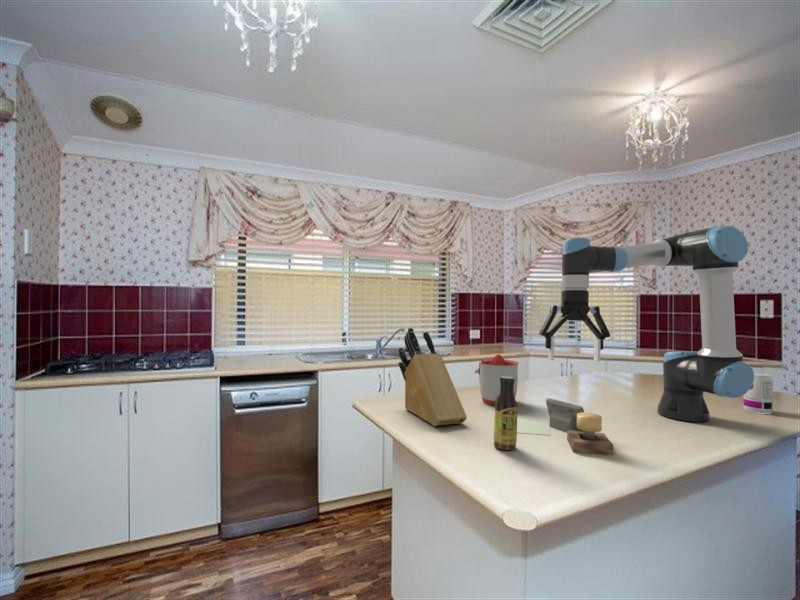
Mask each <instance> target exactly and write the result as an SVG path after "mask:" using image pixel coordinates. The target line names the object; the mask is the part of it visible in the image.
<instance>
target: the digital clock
mask: <svg viewBox="0 0 800 600" xmlns="http://www.w3.org/2000/svg"><path fill="white" fill-rule="evenodd" d="M545 400H546V401H545V404H546V407H547V412H548V416H549V427H550V428H552V429H555V430H557V431H560V432H561V431H562V432H564V433H567V430H571V431H583V430H580V429H578V428H577V413H585V409H584V407H583V406H582V405H579V404H574V403H570V402H567V401H562V400H558V399H555V398H551V397H550V398H549V397H547V398H546V399H545Z"/></svg>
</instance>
